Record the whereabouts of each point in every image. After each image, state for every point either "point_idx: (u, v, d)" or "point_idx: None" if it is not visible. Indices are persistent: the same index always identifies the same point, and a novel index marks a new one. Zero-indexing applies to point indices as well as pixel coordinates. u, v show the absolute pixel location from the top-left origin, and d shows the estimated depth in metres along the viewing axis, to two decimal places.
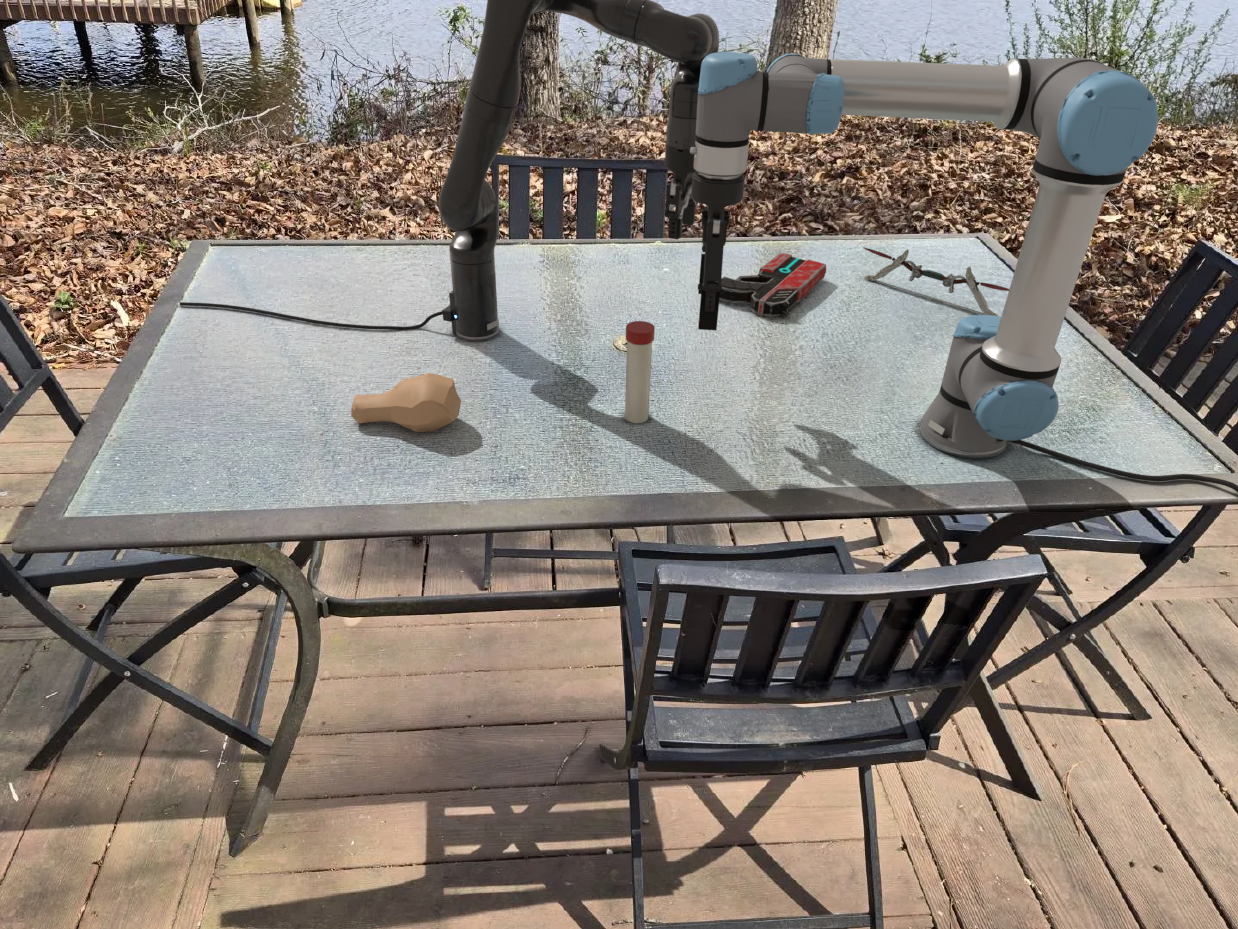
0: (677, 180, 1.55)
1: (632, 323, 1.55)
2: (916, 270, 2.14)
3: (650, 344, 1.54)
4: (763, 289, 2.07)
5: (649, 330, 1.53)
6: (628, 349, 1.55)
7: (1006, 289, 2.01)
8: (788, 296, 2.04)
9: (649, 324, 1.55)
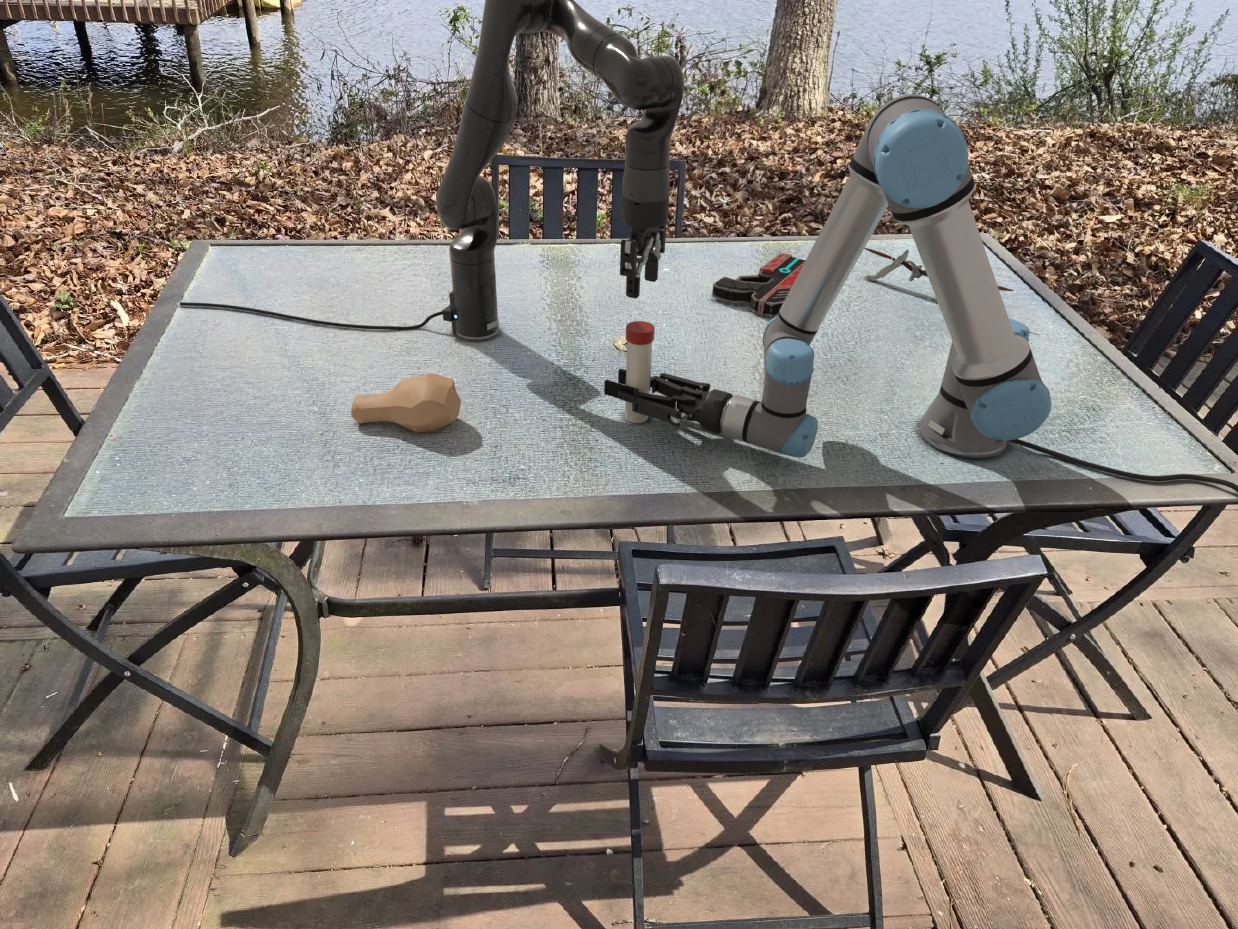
0: (634, 235, 1.41)
1: (632, 323, 1.55)
2: (916, 270, 2.14)
3: (650, 344, 1.54)
4: (763, 289, 2.07)
5: (649, 330, 1.53)
6: (628, 349, 1.55)
7: (1006, 289, 2.01)
8: None
9: (649, 324, 1.55)
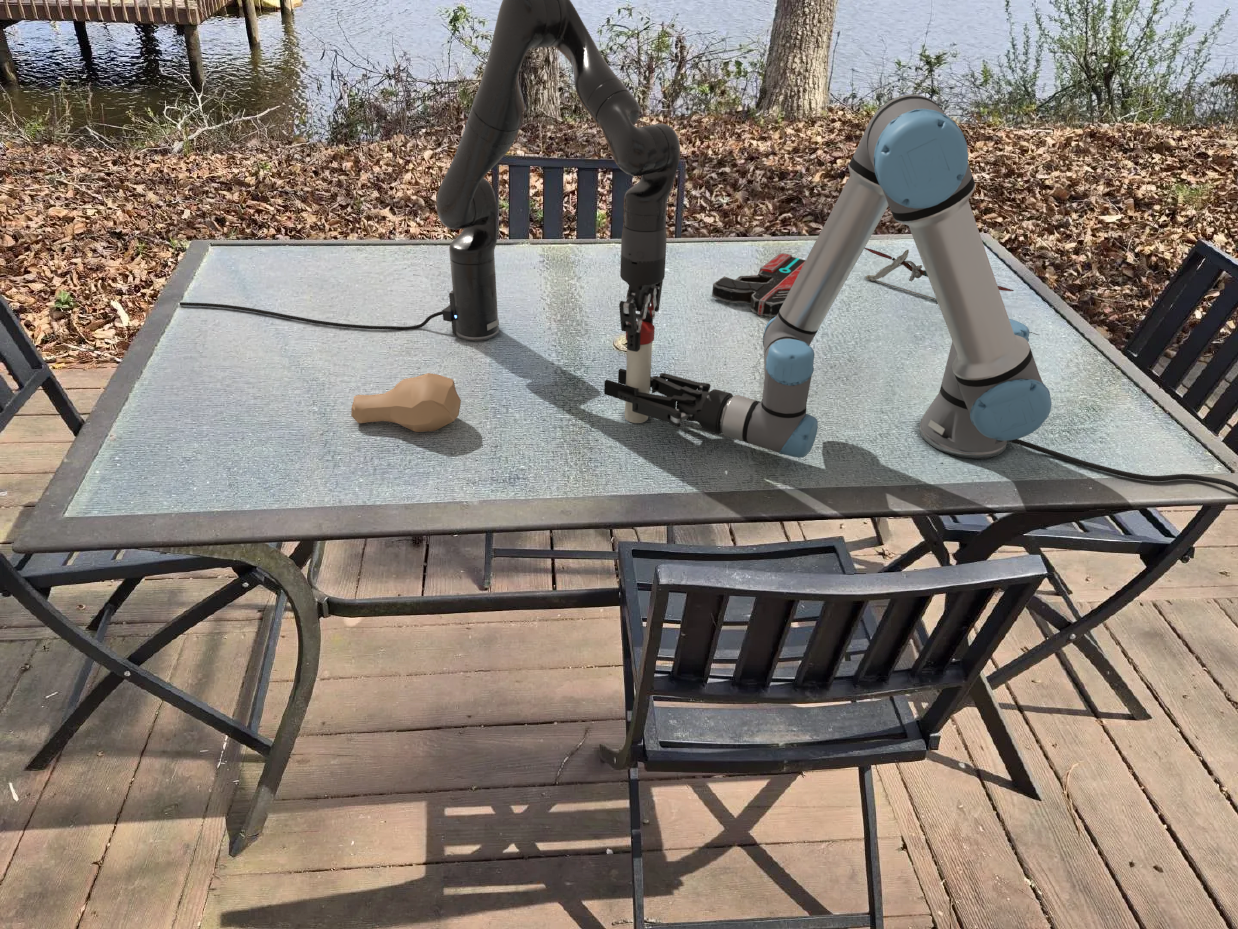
0: (631, 293, 1.47)
1: None
2: (916, 270, 2.14)
3: (650, 344, 1.54)
4: (763, 289, 2.07)
5: (649, 330, 1.53)
6: None
7: (1006, 289, 2.01)
8: None
9: (649, 324, 1.55)
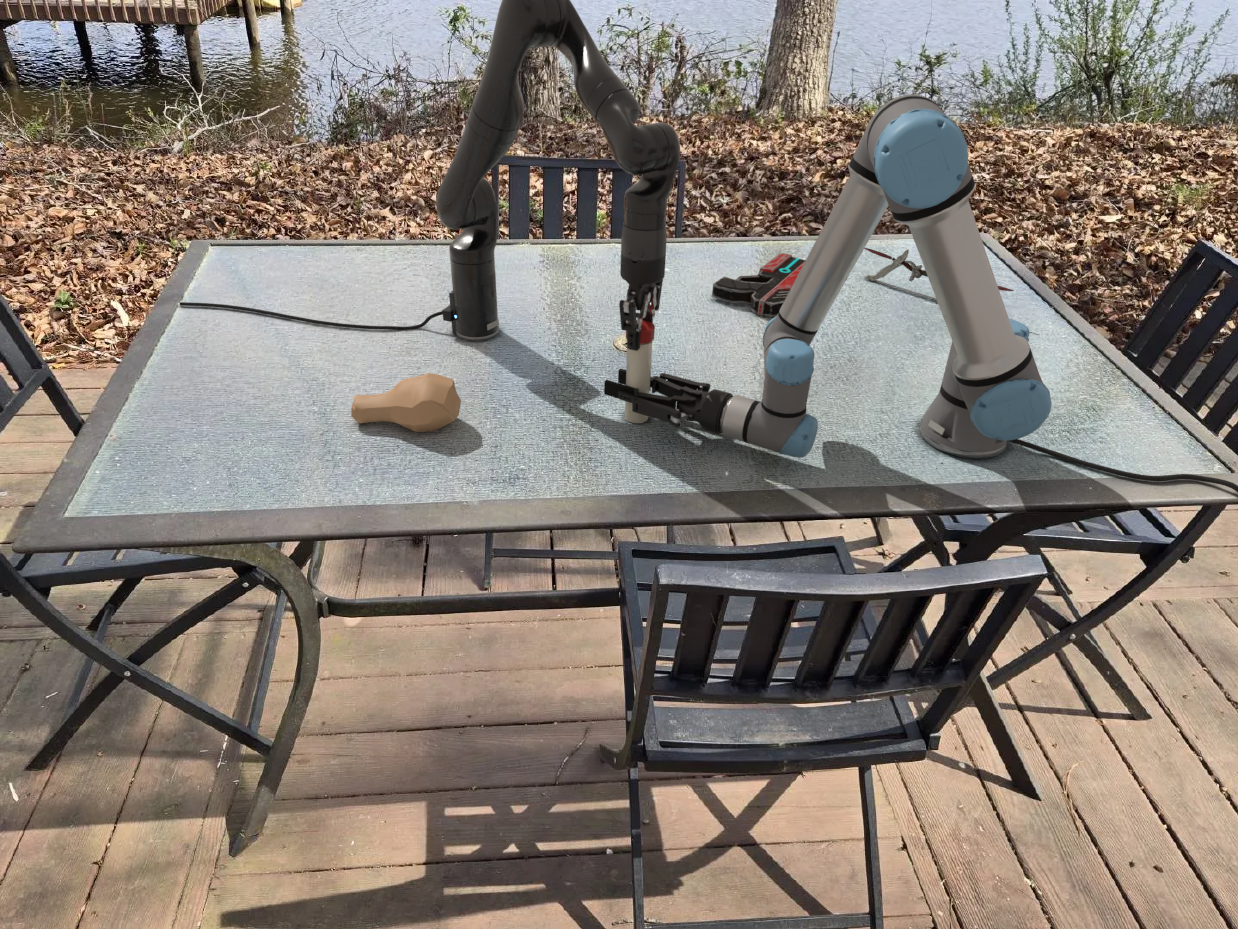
0: (631, 292, 1.47)
1: None
2: (916, 270, 2.14)
3: (650, 344, 1.54)
4: (763, 289, 2.07)
5: (649, 322, 1.55)
6: (628, 349, 1.55)
7: (1006, 289, 2.01)
8: None
9: None
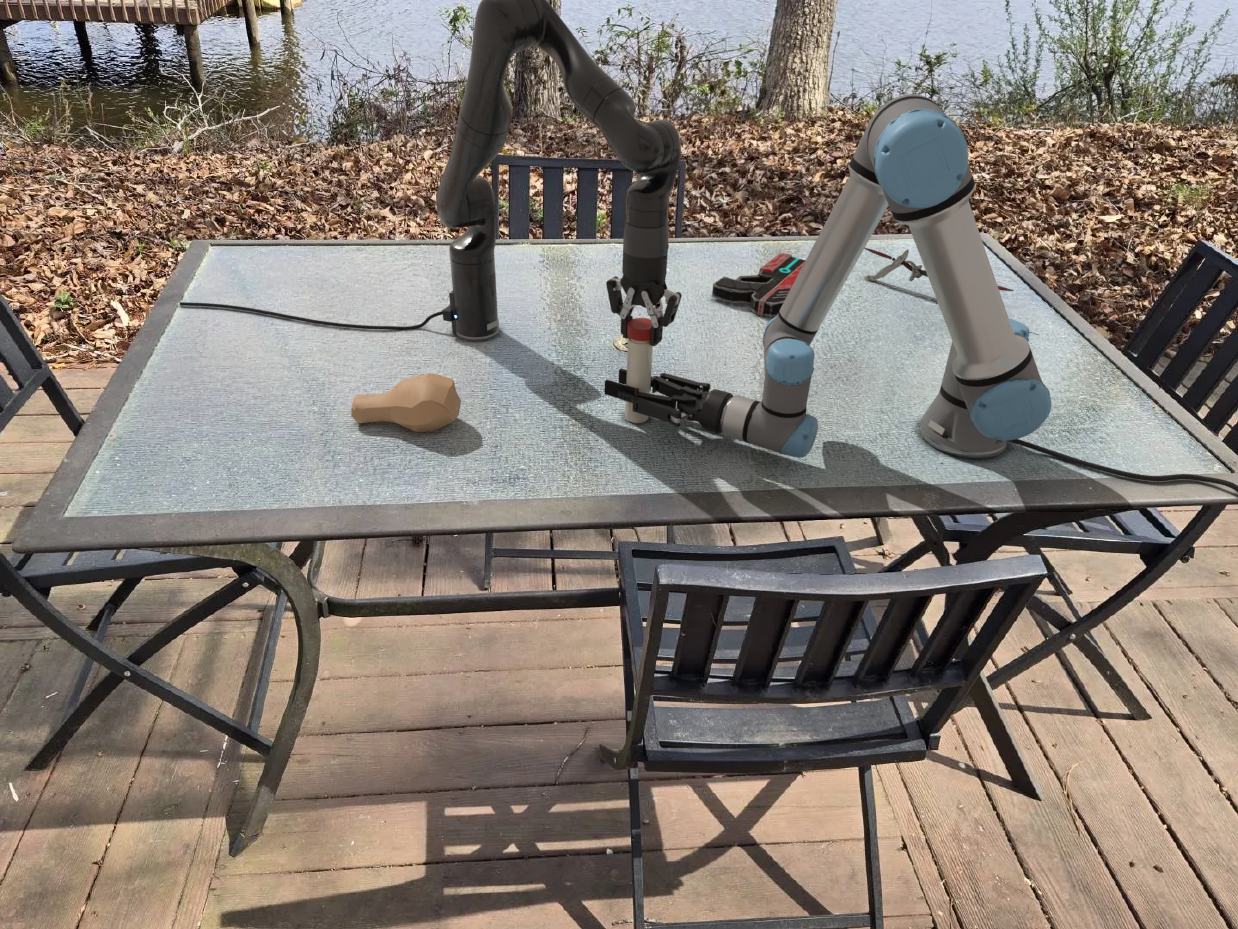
0: (663, 288, 1.48)
1: (648, 327, 1.53)
2: (916, 270, 2.14)
3: None
4: (763, 289, 2.07)
5: (634, 319, 1.55)
6: (629, 348, 1.55)
7: (1006, 289, 2.01)
8: None
9: (631, 325, 1.53)
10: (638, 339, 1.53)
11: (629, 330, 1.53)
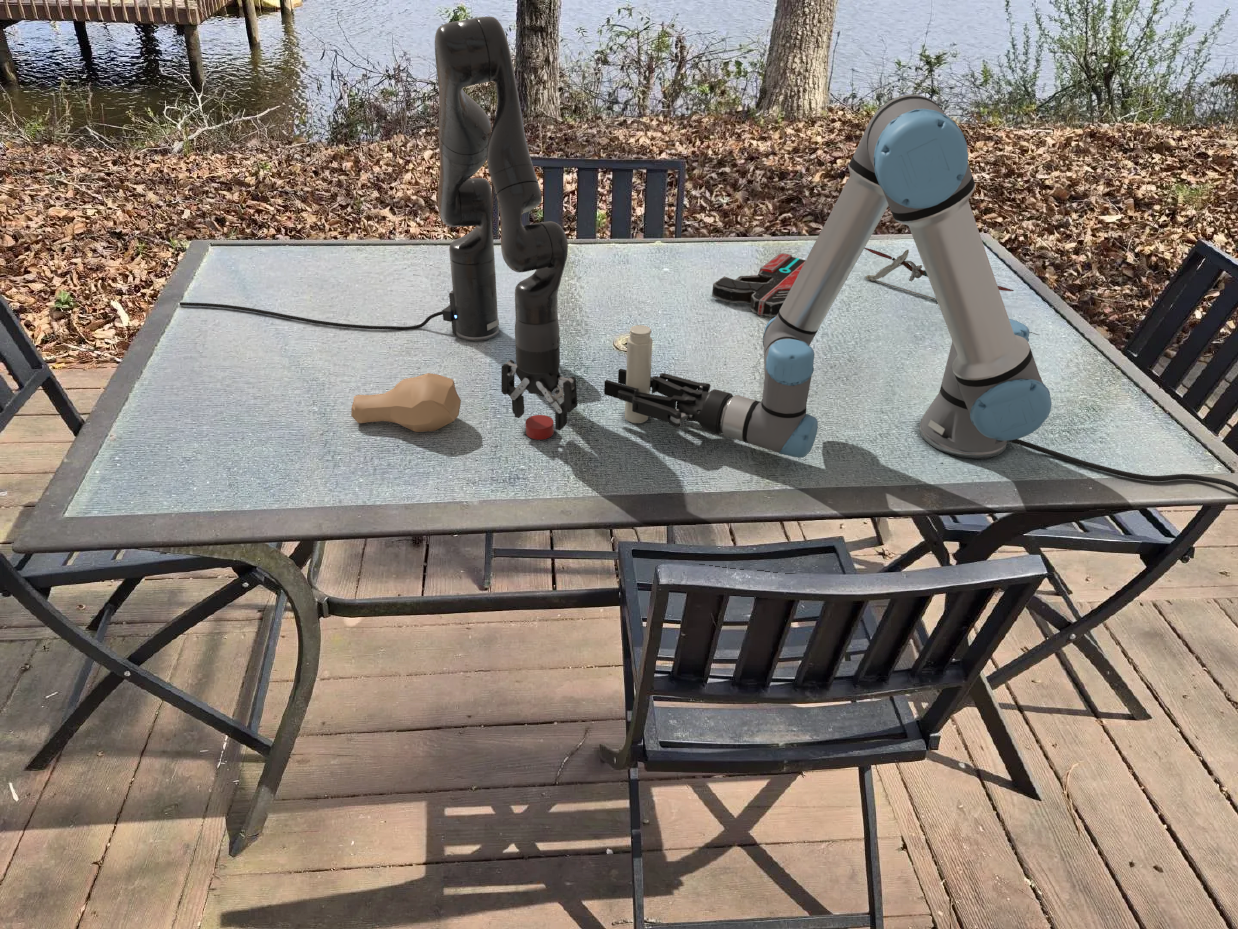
0: (556, 377, 1.51)
1: (545, 426, 1.56)
2: (916, 270, 2.14)
3: (650, 344, 1.54)
4: (763, 289, 2.07)
5: (532, 416, 1.59)
6: (628, 349, 1.55)
7: (1006, 289, 2.01)
8: None
9: (529, 424, 1.57)
10: (536, 438, 1.56)
11: (527, 429, 1.57)
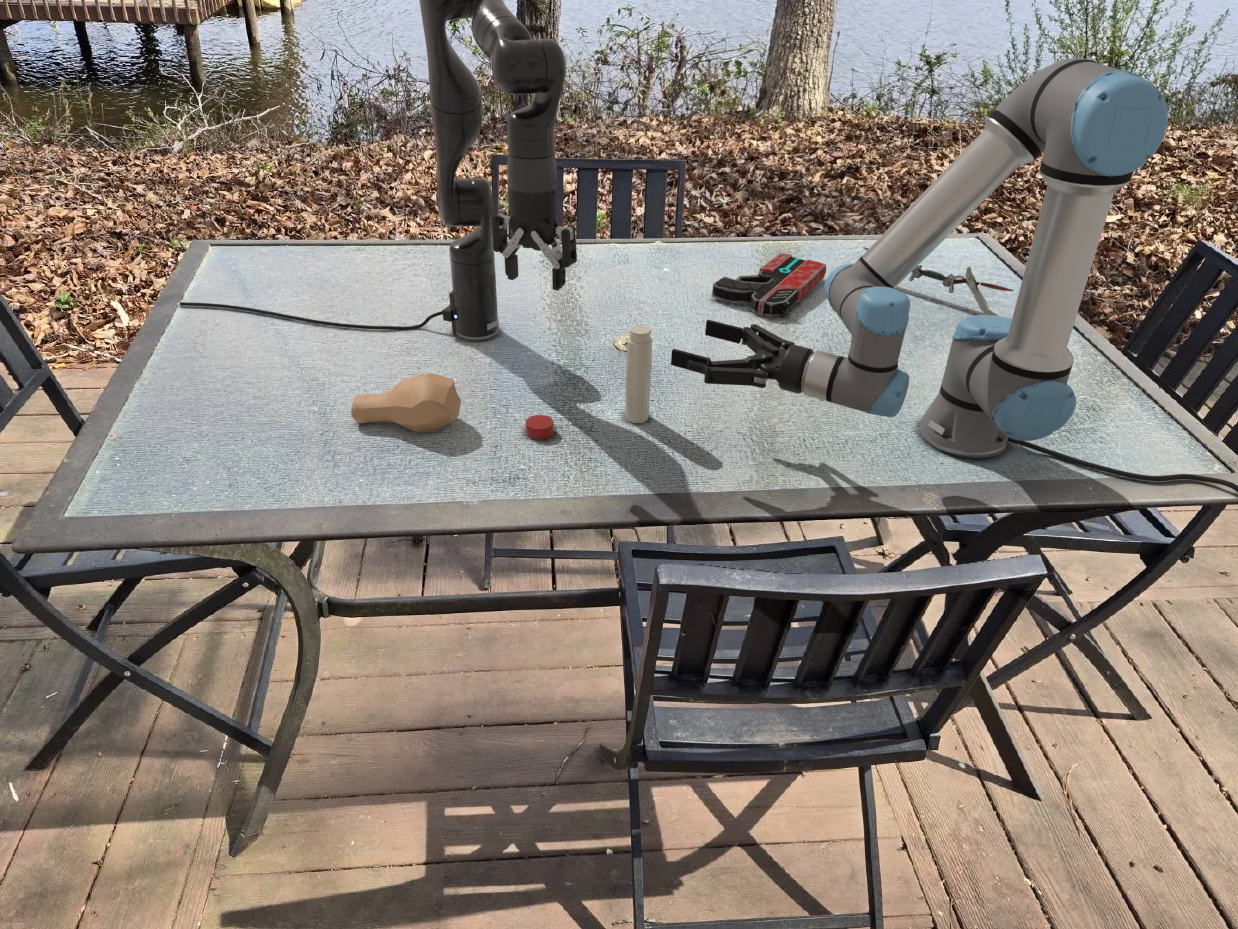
0: None
1: (545, 426, 1.56)
2: (916, 270, 2.14)
3: (650, 344, 1.54)
4: (763, 289, 2.07)
5: (532, 416, 1.59)
6: (628, 349, 1.55)
7: (1006, 289, 2.01)
8: (788, 296, 2.04)
9: (529, 424, 1.57)
10: (536, 438, 1.56)
11: (527, 429, 1.57)
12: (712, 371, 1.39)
